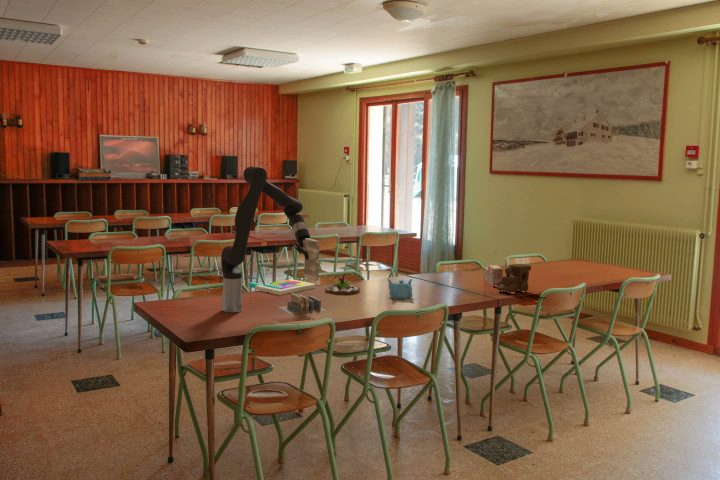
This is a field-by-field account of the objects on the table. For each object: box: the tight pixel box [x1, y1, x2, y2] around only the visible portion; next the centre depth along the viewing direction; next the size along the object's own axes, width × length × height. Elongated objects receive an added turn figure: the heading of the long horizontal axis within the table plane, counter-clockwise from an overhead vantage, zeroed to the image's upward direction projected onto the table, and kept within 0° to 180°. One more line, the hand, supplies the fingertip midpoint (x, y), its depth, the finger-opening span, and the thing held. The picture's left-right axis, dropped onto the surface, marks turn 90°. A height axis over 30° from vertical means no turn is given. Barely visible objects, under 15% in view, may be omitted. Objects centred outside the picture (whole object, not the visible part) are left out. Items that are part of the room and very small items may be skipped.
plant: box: [324, 273, 361, 296], centre depth 389 cm, size 20×20×11 cm
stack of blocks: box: [483, 264, 504, 285], centre depth 425 cm, size 21×6×12 cm, turn 5°
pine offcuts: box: [290, 292, 309, 312], centre depth 335 cm, size 5×12×7 cm, turn 29°
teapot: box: [386, 278, 414, 300], centre depth 376 cm, size 15×15×10 cm
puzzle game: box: [248, 278, 317, 296], centre depth 394 cm, size 30×3×30 cm
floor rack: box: [278, 295, 326, 315], centre depth 336 cm, size 20×16×6 cm
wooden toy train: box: [496, 263, 532, 293], centre depth 400 cm, size 20×11×17 cm, turn 125°
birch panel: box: [303, 237, 320, 281], centre depth 335 cm, size 2×12×20 cm, turn 30°
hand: (310, 258), depth 337 cm, fingers closed on birch panel, 2 cm apart
